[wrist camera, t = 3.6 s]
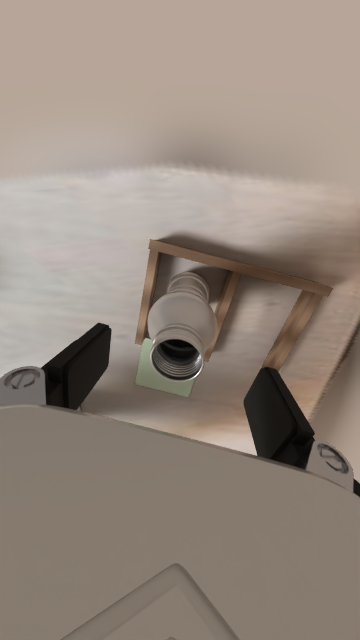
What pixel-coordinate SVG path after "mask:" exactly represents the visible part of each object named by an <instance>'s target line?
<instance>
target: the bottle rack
mask: <svg viewBox="0 0 360 640" xmlns="http://www.w3.org/2000/svg"><path fill="white" fill-rule="evenodd" d="M149 249H150V254H149V260H148V266H147V272H146V278H145V284H144V290H143V297H142V303H141V309H140V315H139V321H138V327H137V333H136V340H135V344H139V345H142V343H143V341H144V340H145V338H146V334H147V328H148V314H149V312H150V309H151V307H152V302H153V297H154V291H155V286H156V281H157V275H158V270H159V265H160V259H161V254H162V253H166V254H170V255H174V256H177V257H181V258H185V259H189V260H192V261H196V262H200V263H204V264H208V265H211V266H215V267H219V268H223V269H226V270H229V273H228V275H227V278H226V281H225V284H224V287H223V290H222V293H221V296H220V299H219V301H218V304H217V307H216V310H215V313H214V314H215V317H216V321H217V332H216V336H215V338H214V341H213V342H212V344H211V346H210V347H209V348H208V349H207V350H206V351H205V355H204V359H205V360H204V361H206V362H208V361H209V359H210V356H211V353H212V351H213V348H214V345H215V343H216V340H217V337H218V335H219V332H220V329H221V327H222V324H223V322H224V319H225V316H226V314H227V311H228V308H229V306H230V303H231V300H232V298H233V295H234V292H235V290H236V287H237V284H238V282H239V279H240V276H241V274H245V275H249V276H253V277H257V278H261V279H264V280H268V281H272V282H276V283H279V284H283V285H287V286H291V287H295V288H298V289H302V290H303V291H302V293H301V294H300V296H299V298H298V300H297V302H296V304H295V306H294V308H293V309H292V311H291V313H290V315H289V317H288V319H287V321H286V323H285V324H284V326H283V328H282V330H281V332H280V334H279V336H278V337H277V339H276V341H275V343H274V345H273V347H272V349H271V351H270V352H269V354H268V356H267V358H266V360H265V362H264V364H263V366H262V368H264V367H270V368H274V369H276V370H277V371H279V369H280V368H281V366H282V364H283V363H284V361H285V359H286V358H287V356H288V354H289V352H290V351H291V349H292V347H293V346H294V344H295V342H296V341H297V339H298V337H299V335H300V334H301V332H302V330H303V329H304V327H305V325H306V324H307V322H308V320H309V318H310V317H311V315H312V313H313V312H314V310H315V308H316V307H317V305H318V303H319V301H320V300H321V298H322V296H323V295H325V296H329V294H330V293H331V291H332V289H333V288H331V287H328V286H325V285H322V284H319V283H316V282H312V281H309V280H305V279H301V278H297V277H294V276H290V275H286V274H282V273H279V272H275V271H271V270H267V269H263V268H260V267H256V266H252V265H248V264H245V263H241V262H237V261H233V260H230V259H226V258H222V257H218V256H214V255H211V254H207V253H203V252H199V251H196V250H192V249H188V248H184V247H181V246H177V245H173V244H169V243H166V242H162V241H158V240H150V243H149Z"/></svg>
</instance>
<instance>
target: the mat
mask: <svg viewBox="0 0 360 640" xmlns="http://www.w3.org/2000/svg"><path fill="white" fill-rule="evenodd" d="M152 343H153V342H152V340H151V338H148V337H146V338H145V340H144V341H143V343H142V348H141V353H140V359H139V364H138V370H137V375H136V381H135V384H136V385H140V386H144V387H148V388H152V389H156V390H160V391H164V392H168V393H172V394H176V395H180V396H184V397H189V394H190V392H191V389H192V386H193V383H194V380H195V378H194V379H193V380H190V381H187V382H172V381H169V380H166V379H164V378H163V377H161V376H160V375H159V374H157V373H156V371H155V370H154V369H153V367H152V365H151V362H150V352H151V348H152Z"/></svg>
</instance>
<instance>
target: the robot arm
mask: <svg viewBox="0 0 360 640" xmlns="http://www.w3.org/2000/svg"><path fill="white" fill-rule="evenodd" d="M110 341H111V328H109V326H108V325H106V324H102V323H97V324H96V325H95V326H94V327H92V328H91V329H90V330H89V331H88V332H86V333H85V334H84V335H83V336H81V337H80V338H79V339H78V340H76V341H74V342H73V343H71V344H70V345H69V346H68V347H66V348H65V349H64V350H63V351H61V352H60V353H59V354H58V355H56V356H55V357H54V358H53V359H51V360H50V361H49V362H48V363H46V364H45V365H44V366H43V367H41V368H38V367H34V366H27V367H21V368H17V369H14V370H12V371H10V372H8V373H6V374H5V375H4V376H3V377H2V378H1V379H0V640H360V484H359V483H358V482H357V481H356V480H355V479H354V478H353V477H354V475H353V469H352V467H351V465H350V463H349V462H348V461H347V459H346V458H345V457H344V456H343V454H342V453H341V452H340V451H338V450H337V449H336V448H335V447H333V446H332V445H330V444H329V443H327V442H325V441H321V440H316V441H315V440H314V438H313V435H314V434H315V433H314V431H313V429H312V428H311V426H310V424H309V423H308V421H307V419H306V418H305V416H304V414H303V413H302V411H301V409H300V408H299V406H298V404H297V403H296V401H295V399H294V398H293V396H292V394H291V393H290V391H289V389H288V388H287V386H286V384H285V383H284V381H283V379H282V378H281V376H280V374H279V373H278V371H277V370H276V369H274V368H270V367H264V368H261V369H260V371H259V373H258V375H257V377H256V378H255V380H254V382H253V384H252V386H251V388H250V389H249V391H248V393H247V395H246V397H245V399H244V407H245V411H246V415H247V418H248V422H249V426H250V429H251V433H252V437H253V440H254V444H255V448H256V451H257V455H258V456H255V455H252V454H248V453H244V452H240V451H236V450H233V449H229V448H225V447H221V446H217V445H214V444H210V443H206V442H202V441H198V440H194V439H190V438H186V437H182V436H179V435H175V434H171V433H167V432H163V431H159V430H155V429H151V428H147V427H143V426H139V425H135V424H131V423H127V422H123V421H119V420H115V419H111V418H107V417H103V416H99V415H94V414H90V413H86V412H81V408H80V405H81V404H82V402H83V401H84V399H85V398H86V397H87V395H88V394H89V392H90V391H91V390H92V388H93V387H94V386H95V384H96V383H97V381H98V380H99V379H100V377H101V376H102V374H103V373H104V372H105V370H106V369H107V367H108V363H109V352H110Z"/></svg>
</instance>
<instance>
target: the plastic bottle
mask: <svg viewBox="0 0 360 640" xmlns="http://www.w3.org/2000/svg"><path fill="white" fill-rule="evenodd" d="M209 296H210V291H209V287H208V285H207V283H206V281H205V280H204V279H203V278H202V277H201V276H199V275H197V274H195V273H192V272H183V273H180V274H178V275H176V276H174V277H173V278H172V279H171V281H170V282H169V285H168V288H167V294H165V295H164V296H162V297H161V298H160V299H158V300H157V301H156V302H155V303H154V305H153V306H152V308H151V309H150V312H149V314H148V332H149V336H150V338H151V340H152V342H153V343H152V348H151V352H150V362H151V365H152V367H153V369H154V370H155V371H156V373H157V374H159V375H160V376H161V377H163V378H164V379H166V380H169V381H172V382H187V381H190V380H193V379H194V378H196V377H197V376H198V375H199V374H200V373H201V371H202V370H203V367H204V360H205V359H204V355H205V351H206V350H207V349H208V348H209V347H210V346H211V344H212V342H213V341H214V338H215V336H216V332H217V321H216V317H215V314H214V312H213V310H212V308H211V307H210V305H209V304H208V301H209Z"/></svg>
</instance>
